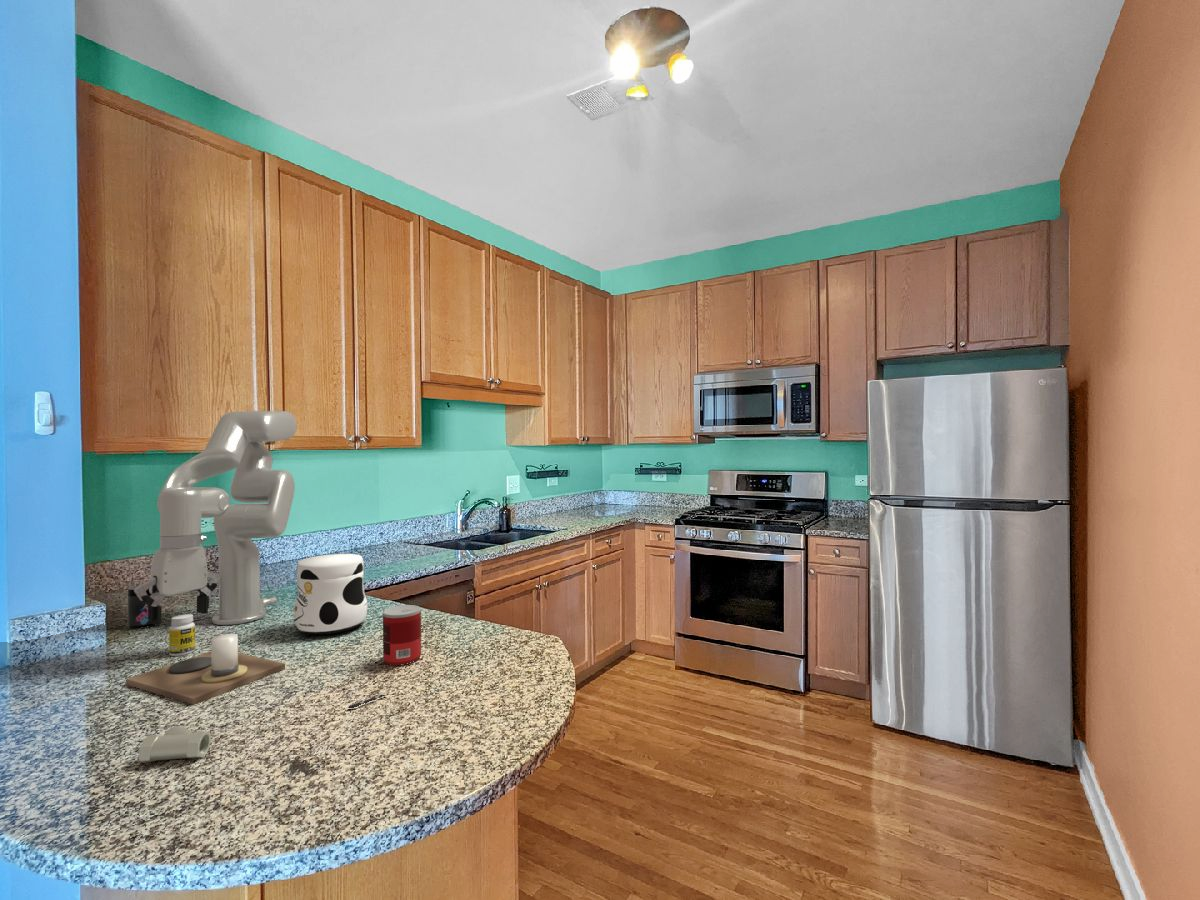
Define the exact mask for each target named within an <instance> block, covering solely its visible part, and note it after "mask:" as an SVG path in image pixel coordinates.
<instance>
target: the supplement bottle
mask: <svg viewBox="0 0 1200 900" xmlns="http://www.w3.org/2000/svg"><path fill="white" fill-rule="evenodd" d="M168 630H169V631H168V633H169V635H168V641H169V643H168V645H169V647H168V649H169V650H168V651H169V653H168V654H169V656H171V657H180V656H181V655H182V656H185V655H190V654H191V653H194V652H195V650H196V624H195V622H194V615H193V613H184V614H178V615H175V616H172V617H171V625H170V627H169V629H168ZM182 656H181V657H182Z"/></svg>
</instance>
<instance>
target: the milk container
mask: <svg viewBox="0 0 1200 900" xmlns="http://www.w3.org/2000/svg"><path fill="white" fill-rule="evenodd" d="M364 575H365V574H364V558H363V556H362V555H360V554H355V553H353V554H352V553H334V554H324V555H317V556H312V557H307V558H303V559H300V560H298V561H297V568H296V576H297V579H296V585H297V586H296V587H297V588H296V591H297V595H296V601H295V604H294V607H293V615H292V616H293V622H294V626H295V628H296V630H298V632H300V633H303V634H305V635H306V634H307V635H318V636H319V635H330V634H337V633H340V632H346V631H349V630H351V629H355V628H358V626H359V625H361V624H362V623H364V621H365V620H366V617H367V615H368V601H367V597H366V593H365V589H364Z"/></svg>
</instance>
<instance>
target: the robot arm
mask: <svg viewBox="0 0 1200 900" xmlns="http://www.w3.org/2000/svg"><path fill="white" fill-rule="evenodd" d="M297 423H298V422H297V420H296V417H295V416H294V414H293V413H291V412H290V411H286V410H247V411H246V410H245V411H242V410H240V411H239V410H237V411H229V412H227V413H224V414H223V415H222V416H221V417H220V419H219V420H218V422H217V424H216V426H215V428H214V430H213V432H212V434H211V436H210V438H209V440H208V442H207V443H206V445H205V448H204V449H203V451H202V452H200V453H198V454H196V455H194V456H193V457H191V458H189V459H188V460H187V461H185V462H183V463H182V464H180V465H179V466H178V467H175V469H174V470H173V471H171V472H170V474H169V475H168V476H167V479H166V481H165V482H164V484H163V486H162V488H161V490H160V491H159V494H158V498H157V503H156V506H157V510H158V512H159V550H155V551H154V554H153V558H152V563H151V566H150V573H149V579H148V580H147V581H144V582H143V583H142V584H139V585H140V586H138V587H136V588H135V589H134V592H135V593H136V595H137V596H138V597H139V600H140V601H142V602H143V603H145V604H146V605H147V606H148V620H149V621H150V624H156V625H155V626H157V625H161V623H162V606H161V605H160V606H159V603H160V604H161V602H162V601H163V600H164V599H165V597H167V596H168V597H169V596H173V595H180V594H185V593H188V592H189V593H191V592H197V593H198V595H197V596H196V612H197V613H198V614H203V615H206V614H208V613H209V608H210V596H212V593H213V592H214V590H215V589H216V588H217V587H218V614H215V615H213V617H211V621H212V624H214V625H219V626H220V625H221V626H231V625H239V624H246V623H252V622H255V621H258V620H260V619H262V618H264V617H266V615H267V609H265V608H266V607H267V606H271V605H275V604H277V601H278V600H277V597H275V596H272V597H268V598H265V597H261V591H260V590H261V584H260V583H261V582H260V581H261V580H260V579H261V578H260V577H261V576H260V565H261V564H260V551H259V548H258V547H257V546H256V544H255V543H254V542H253V540H252V539H271V538H277V537H280V536H281V535H283V534H284V532H285V531H286V528H287V526H288V522H289V517H290V513H291V509H292V504H293V499H294V495H295V491H296V490H295V488H296V487H295V484H296V483H295V478H294V476H293V474H292V473H290V471H287V470H283V469H272V465H273V461H274V459H273V455H272V454H271V451H270V450H269V449H268V448H267V447H266V446H265V445H264V443H262V442H265V443H266V442H269V443H271V442H280V441H286V440H290V439H292V437H294V436H295V433H296V432H297V427H298V425H297ZM234 469H235V470H234ZM232 470H234V474H233V478H232V481H231V485H230V496H229V494H228V492H226V491H225V490H224V489H223V488H219V487H215V486H203V487H202V486H201V487H200V486H195V485H196V484H199V482H202V481H205V480H207V479H209V478H212V477H216V476H218V475H222V474H225V473H227V472H229V471H232ZM230 497H231V498H232V499H233V501H235V502H238V503H234V504H233V503H232V504H231V500H230V499H231V498H230ZM211 518H212V519H213V528H214V532H215V536H216V542H217V551H218V554H217V555H218V556H217V557H218V573H216V572H213V571H210V570H208V563H207V557H206V551H205V549H204V548H205V547H204V546H202V542H205V541H207V536H206V535H202V519H211ZM208 578H210V582H209V583H208ZM147 589H149V592H150V593H151V594H152V595H151V596H150V597H149V596H148V595H147V593H146V590H147ZM254 620H255V621H254Z"/></svg>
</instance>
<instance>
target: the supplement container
mask: <svg viewBox="0 0 1200 900" xmlns="http://www.w3.org/2000/svg"><path fill="white" fill-rule="evenodd" d="M140 585H141V584H136V585H132V586H129V587H127V591H126V593H127V594H126V596H127V627H128V628H129V629H131V628H141V627H147V626H151V627H153V626H152V625H154V626H156V625H155V624H150V621H149V620H148V606H147V605H146V604H145V603H143V602H142V601H140V600H139V597H138V596H137V595H136V593H135V592H134V589H135V588H136V587H138V586H140ZM146 593H147V595H148V596H149V597H150V596H151V595H152V594H151V593H150V592H149V589H147V590H146ZM159 606H161V602H160V603H159ZM147 628H148V627H147ZM141 629H142V628H141Z"/></svg>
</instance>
